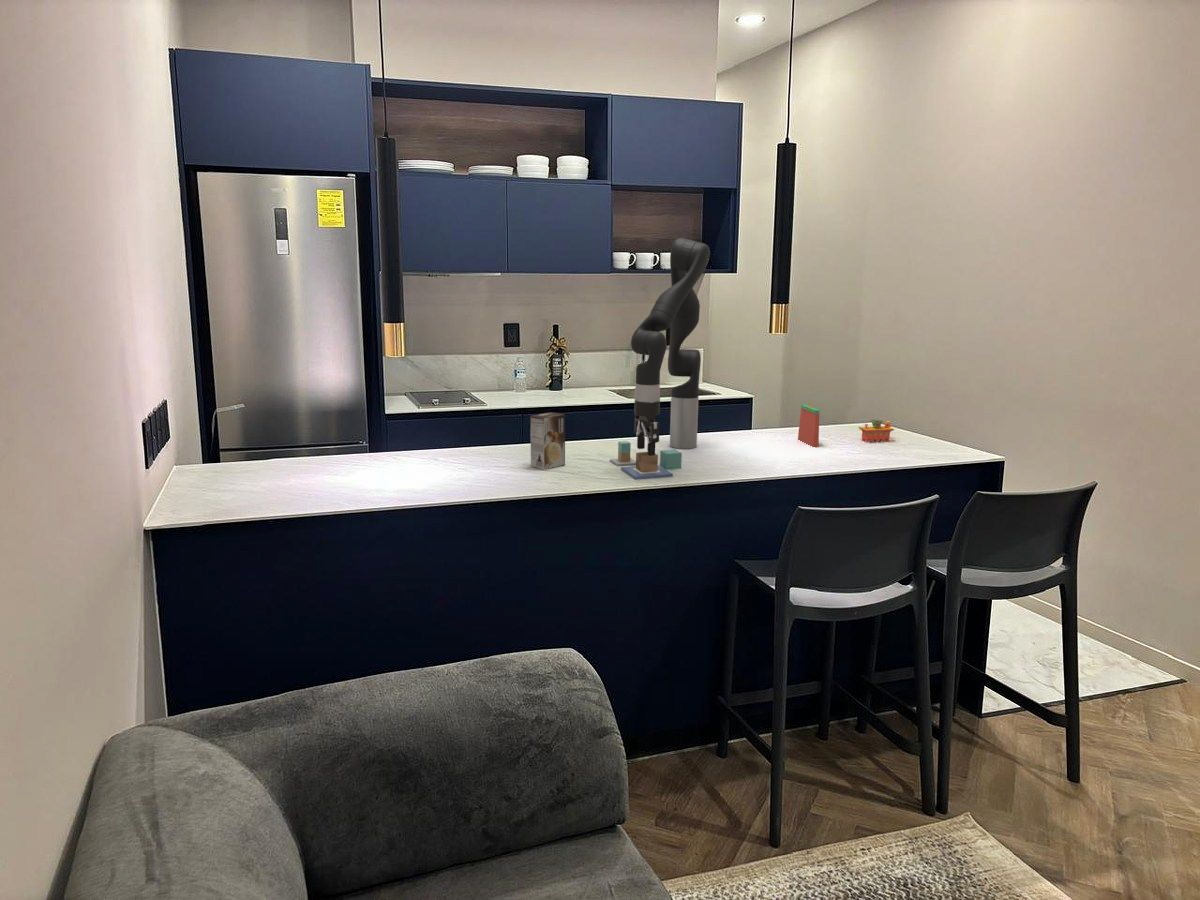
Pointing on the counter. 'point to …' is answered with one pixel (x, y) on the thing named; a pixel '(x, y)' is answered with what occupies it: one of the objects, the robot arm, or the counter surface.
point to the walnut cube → (646, 462)
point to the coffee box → (547, 440)
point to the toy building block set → (811, 428)
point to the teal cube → (670, 459)
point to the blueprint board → (646, 473)
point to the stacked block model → (623, 455)
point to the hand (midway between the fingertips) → (645, 452)
